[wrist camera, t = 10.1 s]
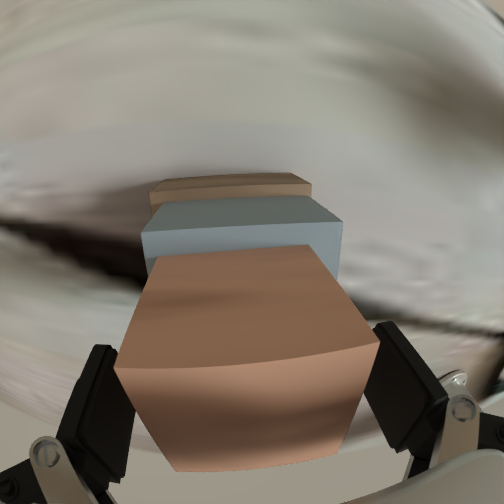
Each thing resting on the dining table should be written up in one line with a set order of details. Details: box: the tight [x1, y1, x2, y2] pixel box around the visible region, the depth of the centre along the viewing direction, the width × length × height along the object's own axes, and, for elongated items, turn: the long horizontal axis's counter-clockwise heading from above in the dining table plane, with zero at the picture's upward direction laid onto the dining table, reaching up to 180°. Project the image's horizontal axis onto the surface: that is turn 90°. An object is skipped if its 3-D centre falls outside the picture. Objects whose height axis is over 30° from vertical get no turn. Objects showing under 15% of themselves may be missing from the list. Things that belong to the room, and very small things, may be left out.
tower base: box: [149, 173, 312, 217], centre depth 19 cm, size 9×9×5 cm
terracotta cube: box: [114, 245, 380, 472], centre depth 9 cm, size 6×6×6 cm
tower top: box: [141, 196, 343, 281], centre depth 15 cm, size 8×8×5 cm
